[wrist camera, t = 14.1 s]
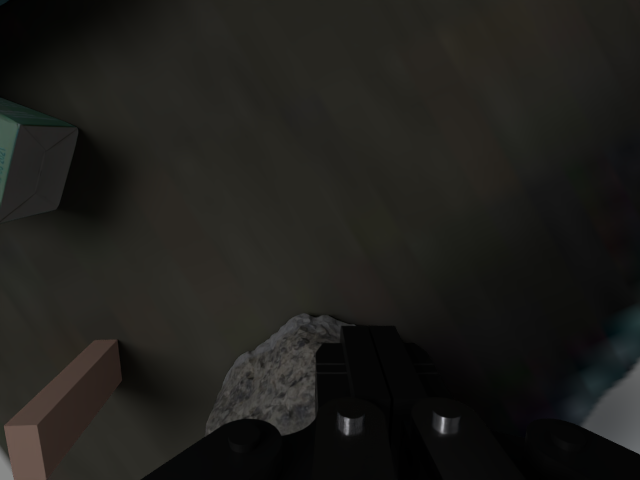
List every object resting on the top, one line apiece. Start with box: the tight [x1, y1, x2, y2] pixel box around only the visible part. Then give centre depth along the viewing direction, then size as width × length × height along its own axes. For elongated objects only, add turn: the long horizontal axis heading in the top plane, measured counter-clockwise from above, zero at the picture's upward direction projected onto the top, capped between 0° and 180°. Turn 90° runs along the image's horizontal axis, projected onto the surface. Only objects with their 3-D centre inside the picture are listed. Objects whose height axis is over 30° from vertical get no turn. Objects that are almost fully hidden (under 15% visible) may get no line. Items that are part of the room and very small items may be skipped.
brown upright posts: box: [4, 340, 122, 480], centre depth 29 cm, size 38×2×12 cm, turn 0°
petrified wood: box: [205, 313, 356, 436], centre depth 33 cm, size 19×17×15 cm
